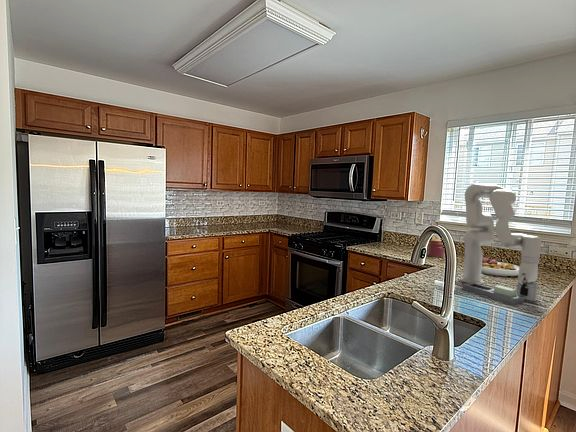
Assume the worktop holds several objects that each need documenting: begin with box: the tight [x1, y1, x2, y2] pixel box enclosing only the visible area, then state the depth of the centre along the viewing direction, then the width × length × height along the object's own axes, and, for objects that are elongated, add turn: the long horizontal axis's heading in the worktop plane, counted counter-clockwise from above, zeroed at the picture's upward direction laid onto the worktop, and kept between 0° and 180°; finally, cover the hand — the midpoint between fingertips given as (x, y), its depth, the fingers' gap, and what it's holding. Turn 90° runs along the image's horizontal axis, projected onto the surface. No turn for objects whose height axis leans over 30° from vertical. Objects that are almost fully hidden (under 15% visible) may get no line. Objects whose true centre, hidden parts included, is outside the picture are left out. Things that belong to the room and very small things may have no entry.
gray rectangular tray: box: [462, 283, 525, 306], centre depth 166 cm, size 10×26×3 cm, turn 29°
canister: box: [427, 235, 445, 258], centre depth 270 cm, size 13×13×18 cm
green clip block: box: [493, 284, 517, 297], centre depth 160 cm, size 4×8×6 cm, turn 29°
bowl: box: [481, 257, 520, 277], centre depth 220 cm, size 30×30×8 cm
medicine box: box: [516, 280, 539, 302], centre depth 161 cm, size 8×4×9 cm, turn 44°
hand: (526, 294), depth 162 cm, fingers closed on medicine box, 5 cm apart
